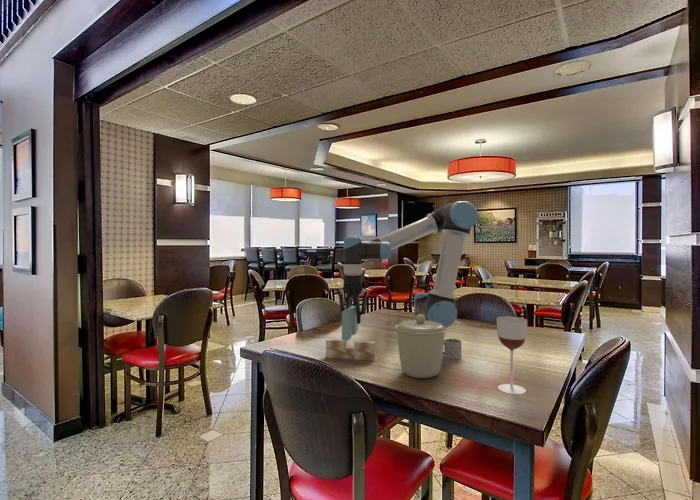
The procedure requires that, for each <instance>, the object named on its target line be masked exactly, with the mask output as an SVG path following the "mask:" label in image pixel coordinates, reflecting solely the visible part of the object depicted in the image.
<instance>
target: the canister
mask: <svg viewBox="0 0 700 500" xmlns="http://www.w3.org/2000/svg"><path fill="white" fill-rule="evenodd" d="M415 319H416V320H415ZM425 319H426V318H425V316H424V315H422V314H418V315H416V317H415V316H414V319H413V320H411V319H408V320H403V321H401V322H399V323H398V324H396V325H394V329H395V331H396V336H397V337H396V338H397V345H398V355H399V362H400V367H401V370H402V372H403V373H404V374H405V375H406V376H408V377H411V378H415V379H429V378H430V379H431V378H434V377H437V376H438V375H439V373H440V372H441V368H442V363H443V356H444V355H443V352H444V340H445V335H446V334H445V333H446V332H447V330H448V329H447V328H448V327H445V326H443V325H442V324H440V323H438V322H434V321H428V320H425Z"/></svg>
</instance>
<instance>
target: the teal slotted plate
mask: <svg viewBox="0 0 700 500" xmlns="http://www.w3.org/2000/svg"><path fill="white" fill-rule="evenodd" d="M345 309H346V308H345ZM356 315H357V314H356V306H355V305H350V307H349V308H347V309H346V310H344V311H342V314H341V340H347V341H349V340H350V339H352V336H355V335H356V334H357V333H358V331H357V332H355V316H356Z"/></svg>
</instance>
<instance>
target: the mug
mask: <svg viewBox="0 0 700 500" xmlns="http://www.w3.org/2000/svg"><path fill="white" fill-rule="evenodd" d="M462 353H463V351H462V340H461V339H457V338H446V339H445V338H444V346H443V355H442V356H444V358H445V359H447V360H461V359H462V355H463V354H462Z"/></svg>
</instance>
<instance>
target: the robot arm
mask: <svg viewBox="0 0 700 500" xmlns="http://www.w3.org/2000/svg"><path fill="white" fill-rule="evenodd" d="M425 216H426V217H423V218H422V219H419V220H417V221H415V222H412V223H410V224H407V225H405V226H403V227H400V228H398V229H396V230H393V231H391V232H388V233H386V234H383V235H382V236H379V237H377V238H374V239H372V240H370V241H363V239H362V237H361V236H347V237H345V238H344V239H343V274H344V275H343V286H342V288H340V289H338V290H336V293H337V294H338V300H339V308H340V309H339V310H340V314H341V315H342V311H344V310H346V309H347V308H349V307H351V302H352V301H351V300H352V298H353V299H354V303H355V304H354V306H356V314H357V315H356V316H355V332H357V333H358V332H359V324H361V322H362V321H361V319H362V318H361V317H362V315H364V314H365V313H366V308H367V298H368V294H369V293H370V291H369V290H368V289H367V290H366V289H365V288H364V286H363V275H362V272H363V267H362V266H363V263H362V262H363V261H366V260H368V261H369V260H370V261H371V260H372V261H377V260H378V261H379V260H381V261H383V260H384V261H385V260H389V259H390V258H391V254H392V251H393V250H395V249H397V248H399V247H402V246H405V245H407V244H409V243H411V242H414V241H416V240H418V239H421V238H423V237H425V236H428V235H431V234H432V233H433V234H434V235H435V234H438V233H441V232H442V233H443V235H444V236H443V240H442V241H443V242H442V246H441V250H440V254H439V259H438V266H437V269H436V270H437V271H436V273H435V278H434V283H433V288H432V289H431V290H429V291H428V292H425V293H423V292H422V293H419V292H418V293H416V294H414V300H413V302H414V320H416V319H415V317H416V315H418V314H422V315H424V316H425V318H426V319H425V320H428V321H434V322H438V323H440V324H442V325H443V326H445V327H446V328H449V327H451V326H452V325H454V323H456V322H455V321H456V320H457V317H458V309H457V307H456V306H455V305H456V300H457V297H456V296H455V293H454V292H455V287H456V283H457V276H458V272H459V268H460V263H461V259H462V258H461V257H462V255H463V249H464V243H465V240H466V238H467V237H469V236H470V234H471V230H472V228H473V227H474V226H475V225H476V223H477V222H478V217H479V215H478V210H477V208H476V207H475V205H473V204H472V203H470V201H466V200H465V201H464V200H462V201H461V200H460V201H459V200H458V201H455V202H451V203H448V204H445V205H443V206H440V208H438V209H436V210H434V211H432V212H431V213H428V214H426V215H425ZM344 293H345V295H346V297H345V298H346V299H345V300H346V301H345V300H344ZM361 293H362V299H361V300H362V301H360V294H361ZM360 302H361V305H360Z"/></svg>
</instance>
